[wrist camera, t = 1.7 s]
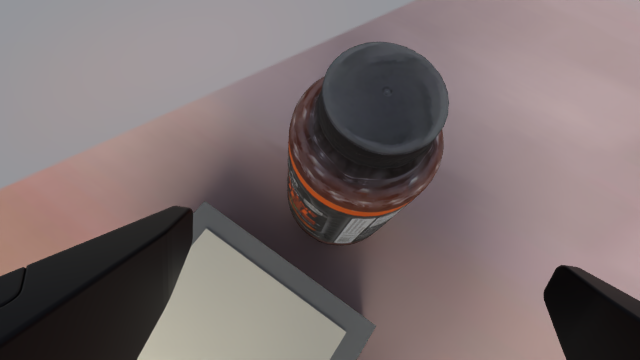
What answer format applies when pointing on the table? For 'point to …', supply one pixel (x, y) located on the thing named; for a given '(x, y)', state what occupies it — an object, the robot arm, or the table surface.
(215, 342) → the plinth
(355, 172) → the supplement bottle
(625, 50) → the table surface
